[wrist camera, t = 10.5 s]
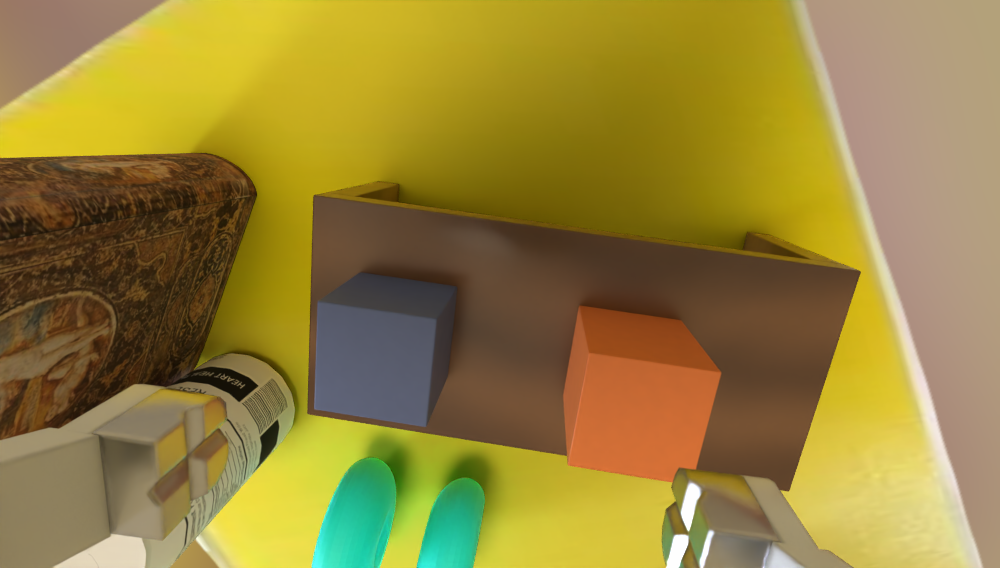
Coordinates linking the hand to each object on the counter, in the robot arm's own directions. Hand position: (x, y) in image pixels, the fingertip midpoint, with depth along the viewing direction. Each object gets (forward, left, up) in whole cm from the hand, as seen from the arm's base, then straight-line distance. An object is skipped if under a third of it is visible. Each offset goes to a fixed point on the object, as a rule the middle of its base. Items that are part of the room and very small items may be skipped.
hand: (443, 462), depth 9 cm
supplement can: (+16, -19, -27) cm, 36 cm away
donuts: (+22, -5, -27) cm, 35 cm away
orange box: (+4, +6, -16) cm, 18 cm away
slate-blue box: (+4, -5, -16) cm, 18 cm away
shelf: (+4, +3, -26) cm, 27 cm away
